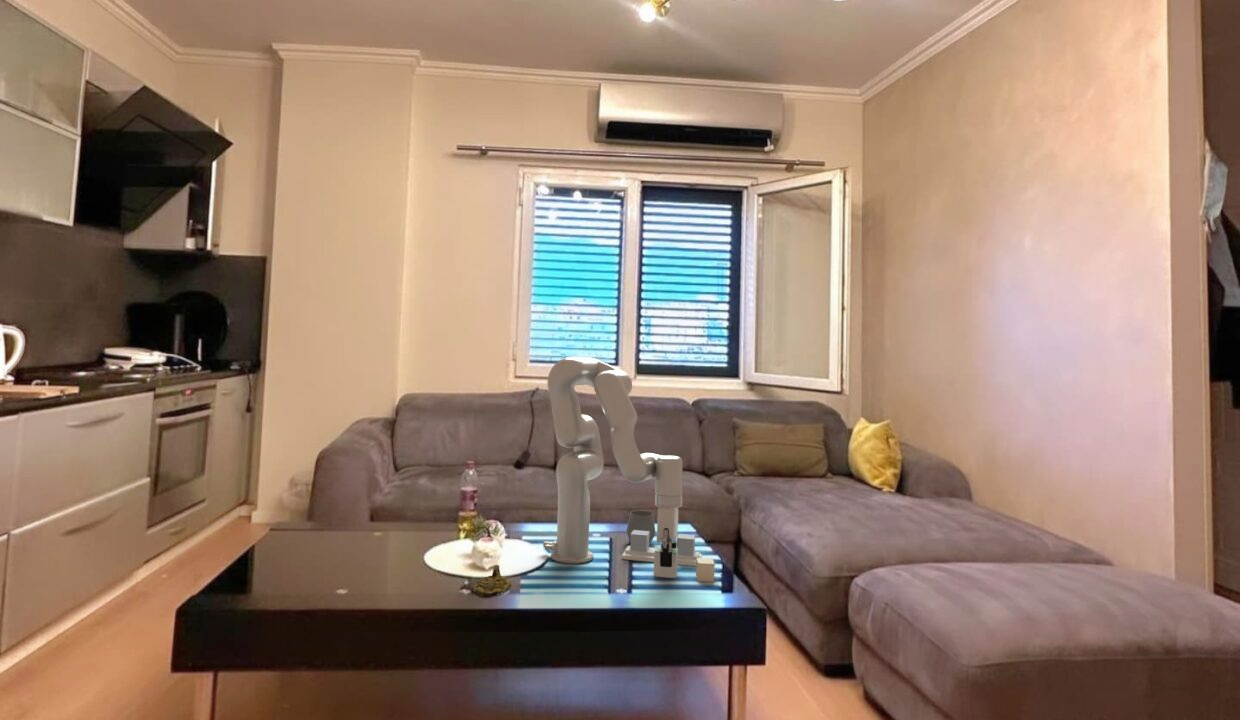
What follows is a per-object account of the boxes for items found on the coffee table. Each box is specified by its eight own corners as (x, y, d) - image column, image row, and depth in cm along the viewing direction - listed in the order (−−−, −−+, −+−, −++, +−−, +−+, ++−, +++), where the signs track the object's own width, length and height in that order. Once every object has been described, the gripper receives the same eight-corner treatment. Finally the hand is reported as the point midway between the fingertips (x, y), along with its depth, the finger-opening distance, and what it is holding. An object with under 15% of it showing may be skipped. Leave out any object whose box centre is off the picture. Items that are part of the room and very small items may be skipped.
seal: (505, 603, 167) (512, 582, 182) (508, 584, 167) (515, 565, 182) (468, 598, 167) (478, 577, 182) (470, 579, 167) (480, 560, 182)
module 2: (697, 581, 185) (698, 563, 185) (695, 575, 190) (696, 557, 190) (714, 582, 185) (714, 563, 185) (711, 576, 190) (712, 558, 190)
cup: (655, 548, 215) (656, 517, 215) (626, 547, 216) (627, 515, 216) (654, 540, 225) (655, 510, 225) (626, 539, 225) (627, 509, 225)
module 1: (653, 576, 188) (654, 551, 188) (655, 571, 192) (656, 546, 192) (675, 578, 187) (675, 553, 187) (676, 573, 191) (677, 548, 191)
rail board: (622, 559, 203) (622, 535, 203) (627, 550, 212) (628, 527, 211) (698, 566, 198) (699, 541, 198) (701, 557, 207) (702, 534, 207)
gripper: (659, 494, 199) (659, 552, 198) (650, 505, 182) (650, 569, 181) (685, 495, 197) (684, 554, 197) (678, 507, 180) (678, 571, 180)
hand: (668, 561), depth 189 cm, fingers open, 9 cm apart
